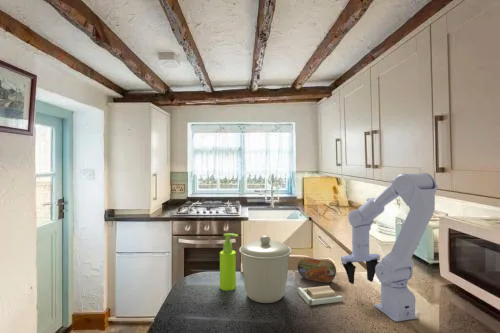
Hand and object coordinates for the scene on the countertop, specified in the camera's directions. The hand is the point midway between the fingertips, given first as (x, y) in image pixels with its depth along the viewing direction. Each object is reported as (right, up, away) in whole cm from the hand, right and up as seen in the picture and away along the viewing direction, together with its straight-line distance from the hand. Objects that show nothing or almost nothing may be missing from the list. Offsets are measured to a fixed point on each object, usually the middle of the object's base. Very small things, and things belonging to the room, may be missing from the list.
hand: (360, 281), depth 102 cm
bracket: (-16, -4, -4) cm, 16 cm away
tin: (-13, -4, +11) cm, 18 cm away
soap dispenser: (-47, -4, +4) cm, 48 cm away
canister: (-34, -4, -3) cm, 35 cm away
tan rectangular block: (-15, -4, -4) cm, 16 cm away
